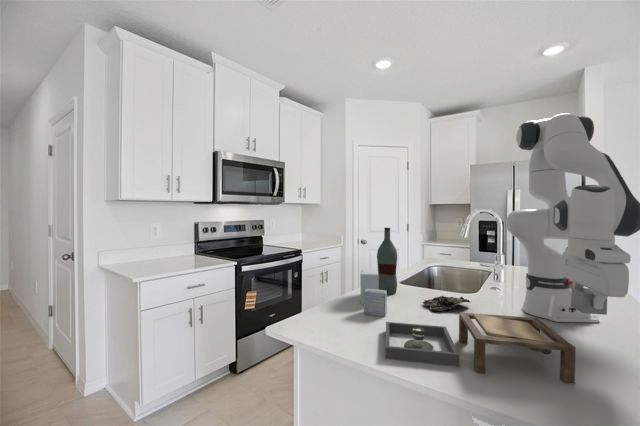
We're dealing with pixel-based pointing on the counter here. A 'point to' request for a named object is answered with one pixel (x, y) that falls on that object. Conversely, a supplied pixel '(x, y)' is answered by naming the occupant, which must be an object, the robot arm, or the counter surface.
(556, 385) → the counter surface
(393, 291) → the bottle
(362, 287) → the supplement box
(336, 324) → the counter surface
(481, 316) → the trapdoor
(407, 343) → the grey knobbed disc
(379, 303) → the medicine box
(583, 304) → the stone block
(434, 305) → the decorative rock
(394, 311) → the counter surface
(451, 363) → the cup mat rim
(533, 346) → the trapdoor frame
